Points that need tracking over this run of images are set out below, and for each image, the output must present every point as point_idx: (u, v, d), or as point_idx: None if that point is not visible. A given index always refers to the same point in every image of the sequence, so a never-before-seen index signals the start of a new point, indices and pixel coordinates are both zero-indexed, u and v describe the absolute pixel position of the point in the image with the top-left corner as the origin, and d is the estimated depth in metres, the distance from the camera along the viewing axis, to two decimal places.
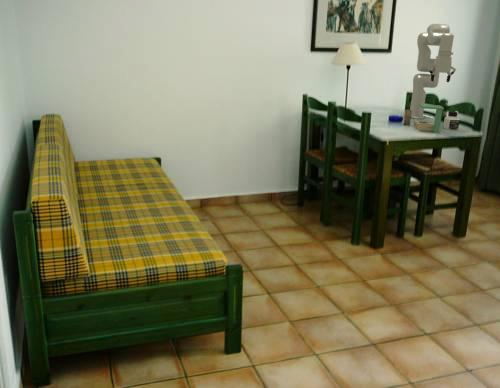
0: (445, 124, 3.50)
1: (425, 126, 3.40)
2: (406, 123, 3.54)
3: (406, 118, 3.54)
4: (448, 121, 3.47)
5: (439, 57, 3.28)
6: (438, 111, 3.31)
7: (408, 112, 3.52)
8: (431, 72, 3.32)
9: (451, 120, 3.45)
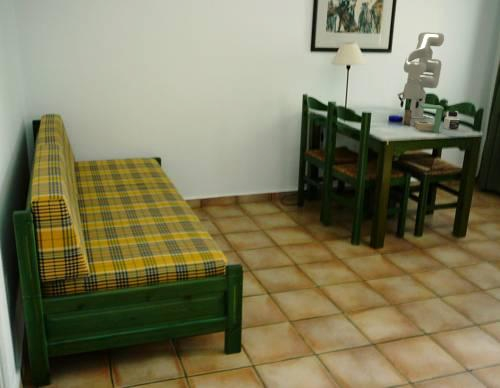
0: (445, 124, 3.50)
1: (425, 126, 3.40)
2: (406, 123, 3.54)
3: (406, 118, 3.54)
4: (448, 121, 3.47)
5: (408, 85, 3.46)
6: (438, 111, 3.31)
7: (408, 112, 3.52)
8: (400, 98, 3.50)
9: (451, 120, 3.45)
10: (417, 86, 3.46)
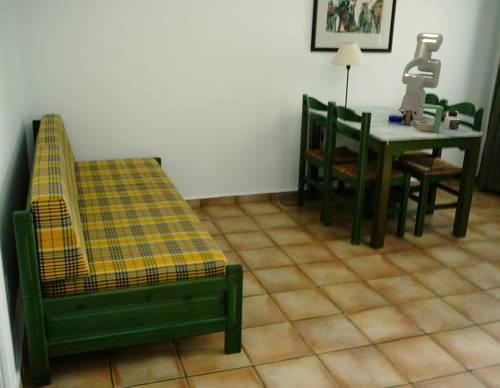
0: (445, 124, 3.50)
1: (425, 126, 3.40)
2: (406, 123, 3.54)
3: (406, 118, 3.54)
4: (448, 121, 3.47)
5: (406, 97, 3.49)
6: (438, 111, 3.31)
7: (408, 112, 3.52)
8: (402, 112, 3.53)
9: (451, 120, 3.45)
10: (415, 98, 3.48)
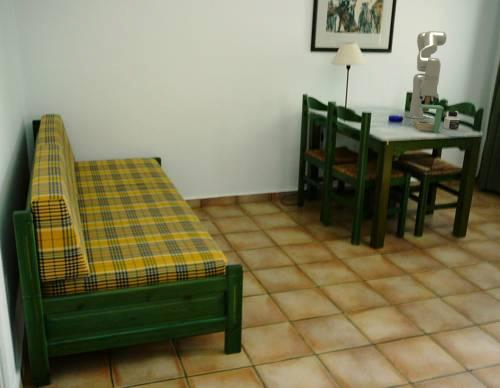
0: (445, 124, 3.50)
1: (425, 126, 3.40)
2: (425, 109, 3.43)
3: (425, 103, 3.43)
4: (448, 121, 3.47)
5: (425, 81, 3.38)
6: (438, 111, 3.31)
7: (427, 97, 3.41)
8: (421, 98, 3.42)
9: (451, 120, 3.45)
10: (435, 83, 3.38)
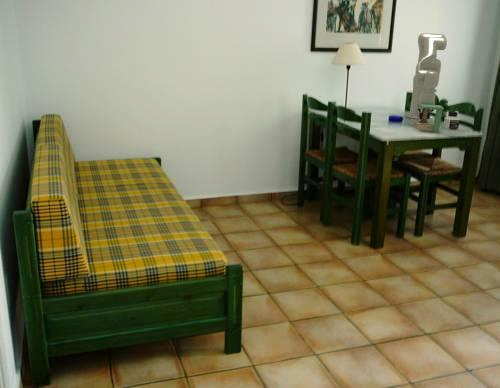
0: (445, 124, 3.50)
1: (425, 126, 3.40)
2: (423, 121, 3.46)
3: (423, 116, 3.45)
4: (448, 121, 3.47)
5: (423, 94, 3.41)
6: (438, 111, 3.31)
7: (425, 110, 3.44)
8: (419, 110, 3.45)
9: (451, 120, 3.45)
10: (433, 95, 3.40)
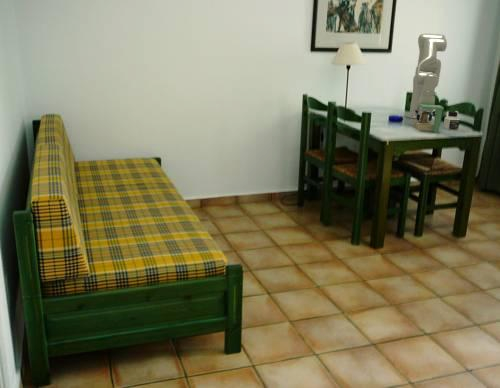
0: (445, 124, 3.50)
1: (425, 126, 3.40)
2: None
3: (422, 121, 3.47)
4: (448, 121, 3.47)
5: (423, 97, 3.41)
6: (438, 111, 3.31)
7: (424, 115, 3.45)
8: (417, 112, 3.46)
9: (451, 120, 3.45)
10: (432, 98, 3.41)
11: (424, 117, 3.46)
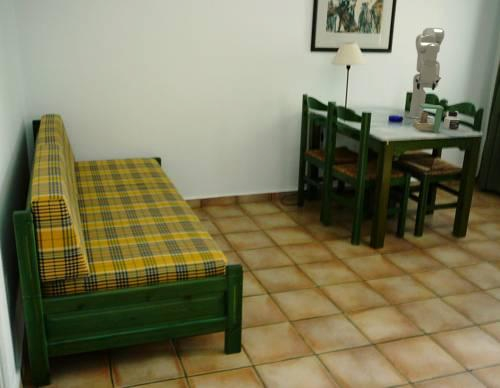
0: (445, 124, 3.50)
1: (425, 126, 3.40)
2: None
3: (422, 121, 3.47)
4: (448, 121, 3.47)
5: (424, 66, 3.42)
6: (438, 111, 3.31)
7: (424, 115, 3.45)
8: (417, 81, 3.47)
9: (451, 120, 3.45)
10: (434, 68, 3.42)
11: (424, 117, 3.46)
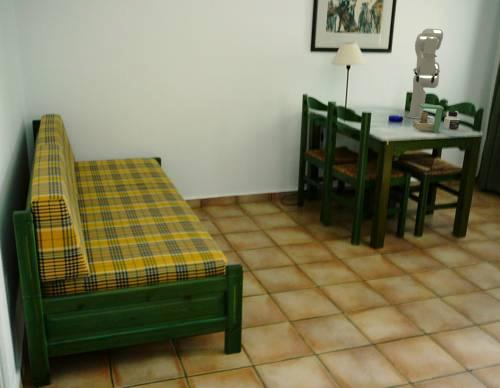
0: (445, 124, 3.50)
1: (425, 126, 3.40)
2: None
3: (422, 121, 3.47)
4: (448, 121, 3.47)
5: (423, 59, 3.45)
6: (438, 111, 3.31)
7: (424, 115, 3.45)
8: (416, 73, 3.50)
9: (451, 120, 3.45)
10: (433, 61, 3.45)
11: (424, 117, 3.46)
